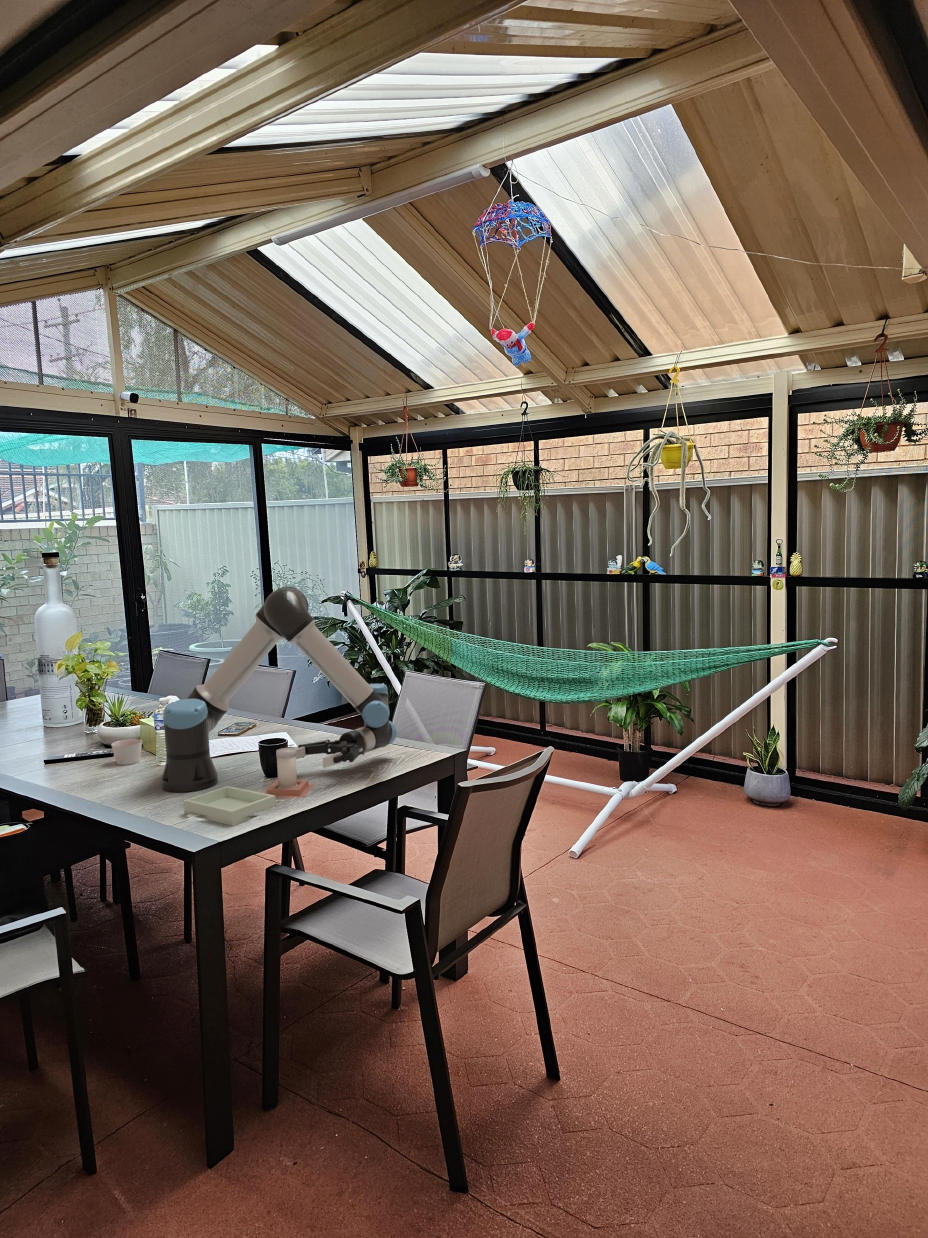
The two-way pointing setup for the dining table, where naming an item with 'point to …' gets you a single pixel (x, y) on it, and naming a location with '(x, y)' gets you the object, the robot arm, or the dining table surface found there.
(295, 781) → the cylinder
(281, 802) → the dining table surface
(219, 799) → the tray
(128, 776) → the dining table surface
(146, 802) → the dining table surface
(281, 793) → the orange square coaster
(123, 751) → the pink cup
